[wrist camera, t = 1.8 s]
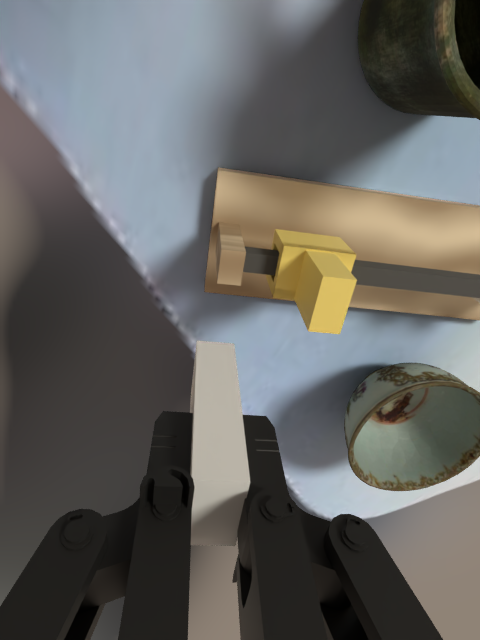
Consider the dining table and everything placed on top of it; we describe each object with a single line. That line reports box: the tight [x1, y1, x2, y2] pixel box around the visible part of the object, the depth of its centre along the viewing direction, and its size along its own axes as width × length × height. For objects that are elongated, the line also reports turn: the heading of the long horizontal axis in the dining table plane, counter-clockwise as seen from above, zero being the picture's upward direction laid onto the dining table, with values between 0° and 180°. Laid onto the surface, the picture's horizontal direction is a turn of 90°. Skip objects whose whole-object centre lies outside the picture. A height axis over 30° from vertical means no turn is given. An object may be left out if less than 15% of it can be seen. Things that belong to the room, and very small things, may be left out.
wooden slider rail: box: [205, 167, 480, 320], centre depth 31 cm, size 10×28×8 cm, turn 82°
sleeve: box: [266, 229, 357, 334], centre depth 26 cm, size 4×5×8 cm
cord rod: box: [243, 246, 480, 298], centre depth 29 cm, size 1×24×1 cm, turn 81°
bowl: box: [344, 363, 480, 491], centre depth 39 cm, size 14×13×8 cm
